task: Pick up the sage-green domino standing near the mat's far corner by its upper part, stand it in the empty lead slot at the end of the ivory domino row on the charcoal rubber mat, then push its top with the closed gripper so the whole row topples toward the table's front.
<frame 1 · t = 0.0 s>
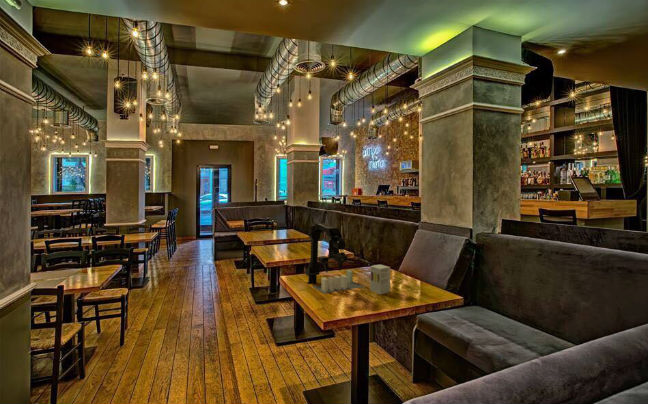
hand: (333, 271, 220), 15 cm above the table, fingers open, 9 cm apart
domino 2: (343, 287, 233), point 1 cm above the table, touching mat
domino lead: (349, 281, 247), point 1 cm above the table, touching mat
domino 3: (337, 288, 231), point 1 cm above the table, touching mat
domino 5: (324, 290, 226), point 1 cm above the table, touching mat
domino 4: (331, 289, 228), point 1 cm above the table, touching mat
mat: (338, 287, 236), on the table
supplement box: (379, 292, 227), on the table
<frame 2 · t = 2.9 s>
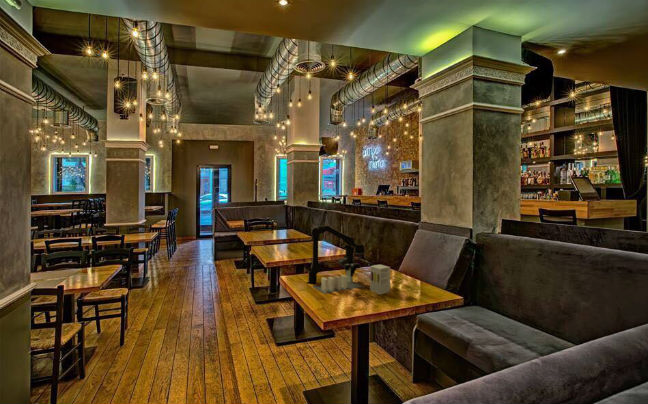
hand: (349, 275, 247), 5 cm above the table, fingers closed on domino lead, 5 cm apart
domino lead: (349, 281, 247), point 1 cm above the table, touching gripper, mat
everything else where it was.
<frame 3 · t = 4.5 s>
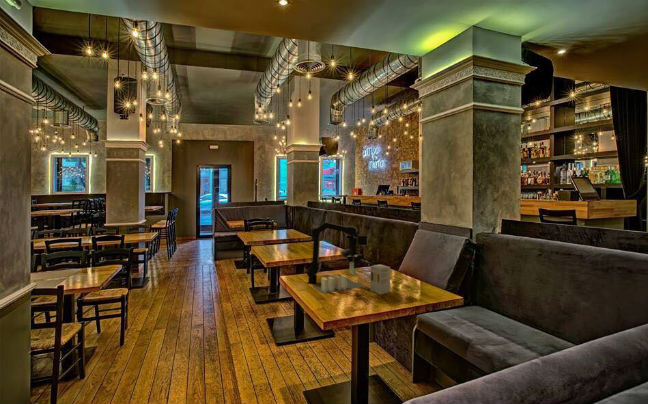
hand: (352, 267, 237), 13 cm above the table, fingers closed on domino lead, 5 cm apart
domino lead: (352, 273, 237), point 9 cm above the table, touching gripper
everything else where it was.
when the fingers open (6 cm above the table, at t = 6.4 s): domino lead stays where it is, resting on mat.
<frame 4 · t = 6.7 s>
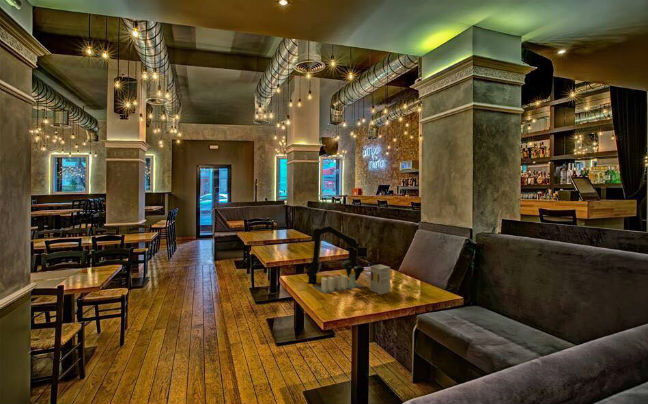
hand: (352, 278, 236), 6 cm above the table, fingers open, 9 cm apart
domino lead: (352, 286, 236), point 1 cm above the table, touching mat
everything else where it was.
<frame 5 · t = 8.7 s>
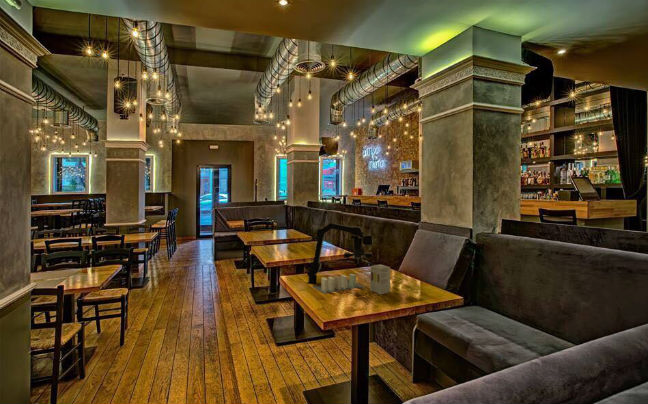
hand: (357, 267, 237), 13 cm above the table, fingers closed
nothing on the table moved.
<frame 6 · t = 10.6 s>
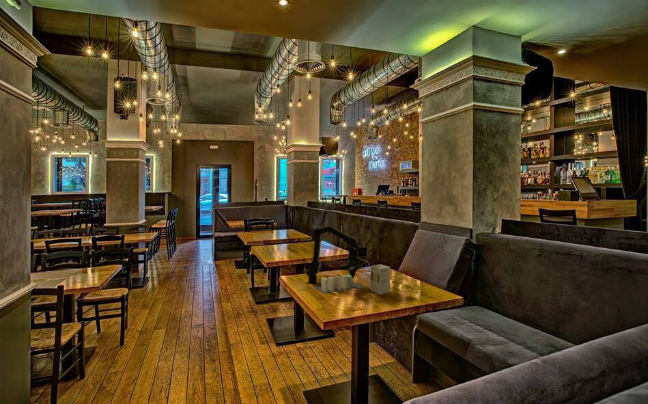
hand: (352, 278, 236), 6 cm above the table, fingers closed
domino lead: (352, 285, 236), point 1 cm above the table, tilted 25°, touching mat
everything else where it was.
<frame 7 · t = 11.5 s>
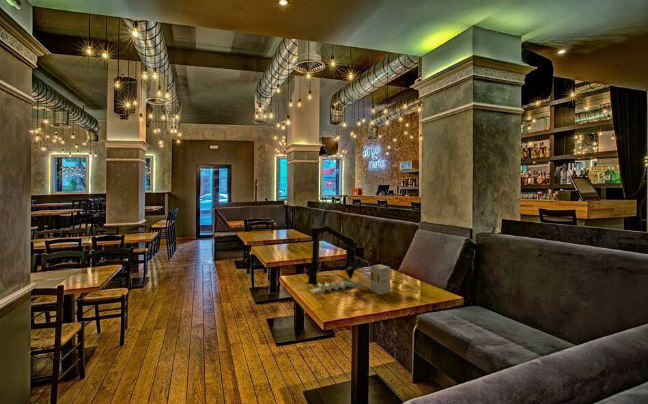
hand: (350, 278, 235), 6 cm above the table, fingers closed
domino 2: (342, 286, 232), point 2 cm above the table, tilted 67°, touching domino 3, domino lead, mat
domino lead: (351, 284, 236), point 2 cm above the table, tilted 73°, touching domino 2, mat
domino 3: (336, 287, 230), point 2 cm above the table, tilted 67°, touching domino 2, domino 4, mat
domino 5: (323, 289, 225), point 2 cm above the table, tilted 96°, touching domino 4, mat
domino 4: (329, 288, 227), point 1 cm above the table, tilted 62°, touching domino 3, domino 5, mat
everything else where it was.
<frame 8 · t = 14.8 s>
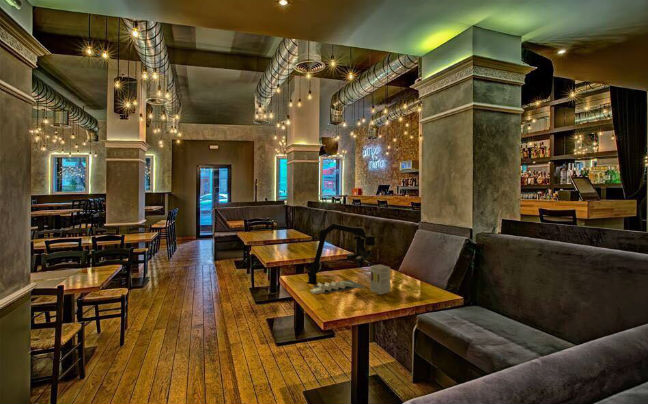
hand: (360, 267, 239), 12 cm above the table, fingers closed
nothing on the table moved.
at the end: domino 5 tilted 96°; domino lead tilted 73°; the gripper is holding nothing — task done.
